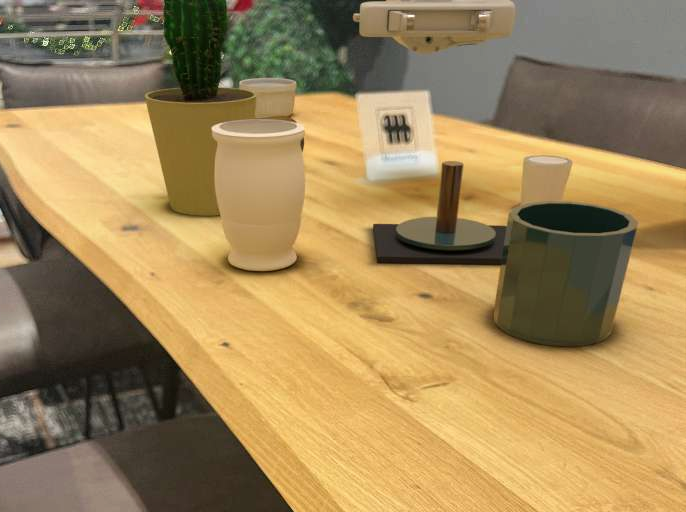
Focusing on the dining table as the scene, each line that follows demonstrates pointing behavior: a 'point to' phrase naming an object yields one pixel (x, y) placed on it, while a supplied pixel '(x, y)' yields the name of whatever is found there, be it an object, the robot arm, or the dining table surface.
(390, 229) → the mat
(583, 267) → the storage jar
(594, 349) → the dining table surface
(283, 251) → the jar
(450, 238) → the jar lid
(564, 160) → the beige cylinder
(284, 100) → the ramekin
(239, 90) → the potted cactus
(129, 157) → the dining table surface
